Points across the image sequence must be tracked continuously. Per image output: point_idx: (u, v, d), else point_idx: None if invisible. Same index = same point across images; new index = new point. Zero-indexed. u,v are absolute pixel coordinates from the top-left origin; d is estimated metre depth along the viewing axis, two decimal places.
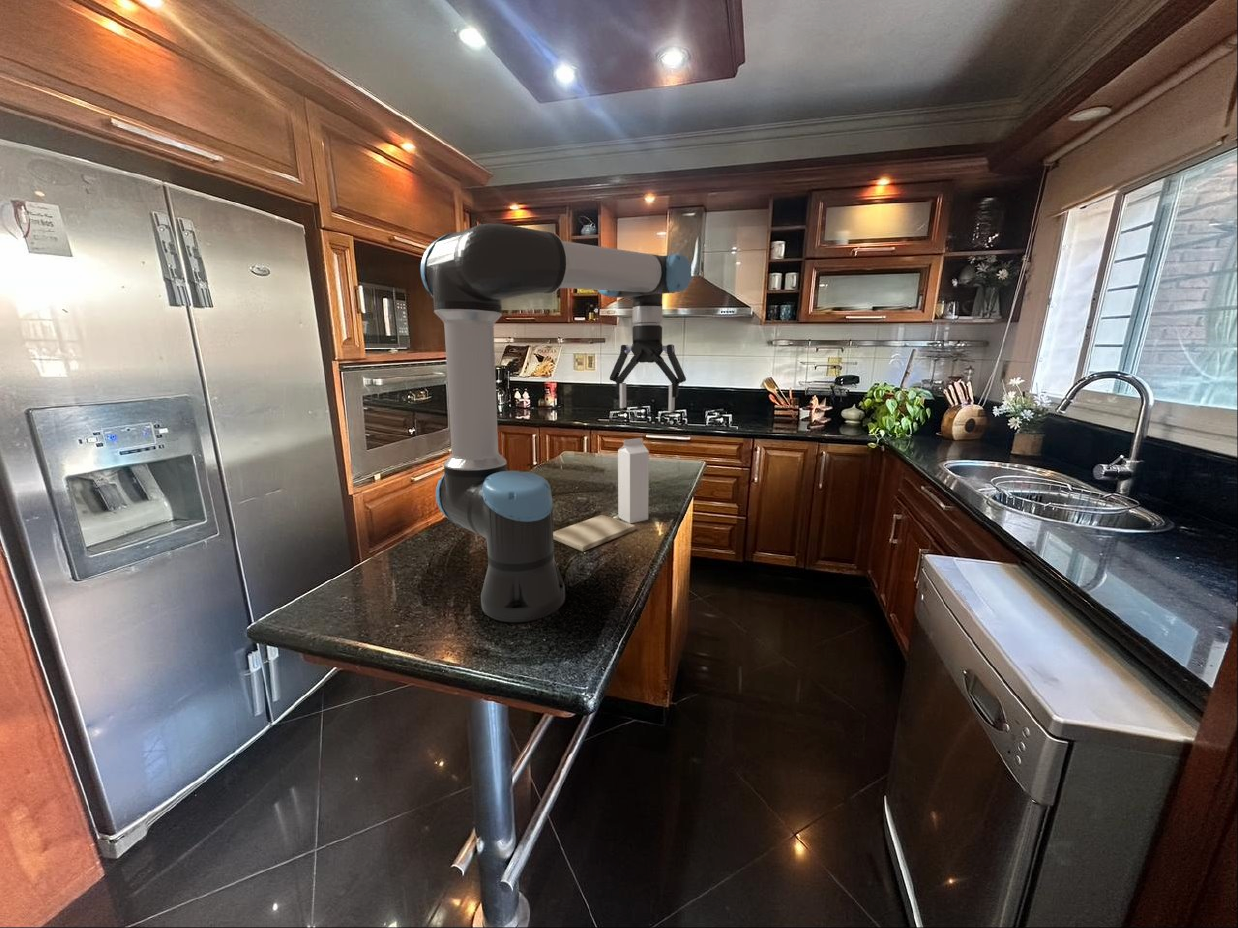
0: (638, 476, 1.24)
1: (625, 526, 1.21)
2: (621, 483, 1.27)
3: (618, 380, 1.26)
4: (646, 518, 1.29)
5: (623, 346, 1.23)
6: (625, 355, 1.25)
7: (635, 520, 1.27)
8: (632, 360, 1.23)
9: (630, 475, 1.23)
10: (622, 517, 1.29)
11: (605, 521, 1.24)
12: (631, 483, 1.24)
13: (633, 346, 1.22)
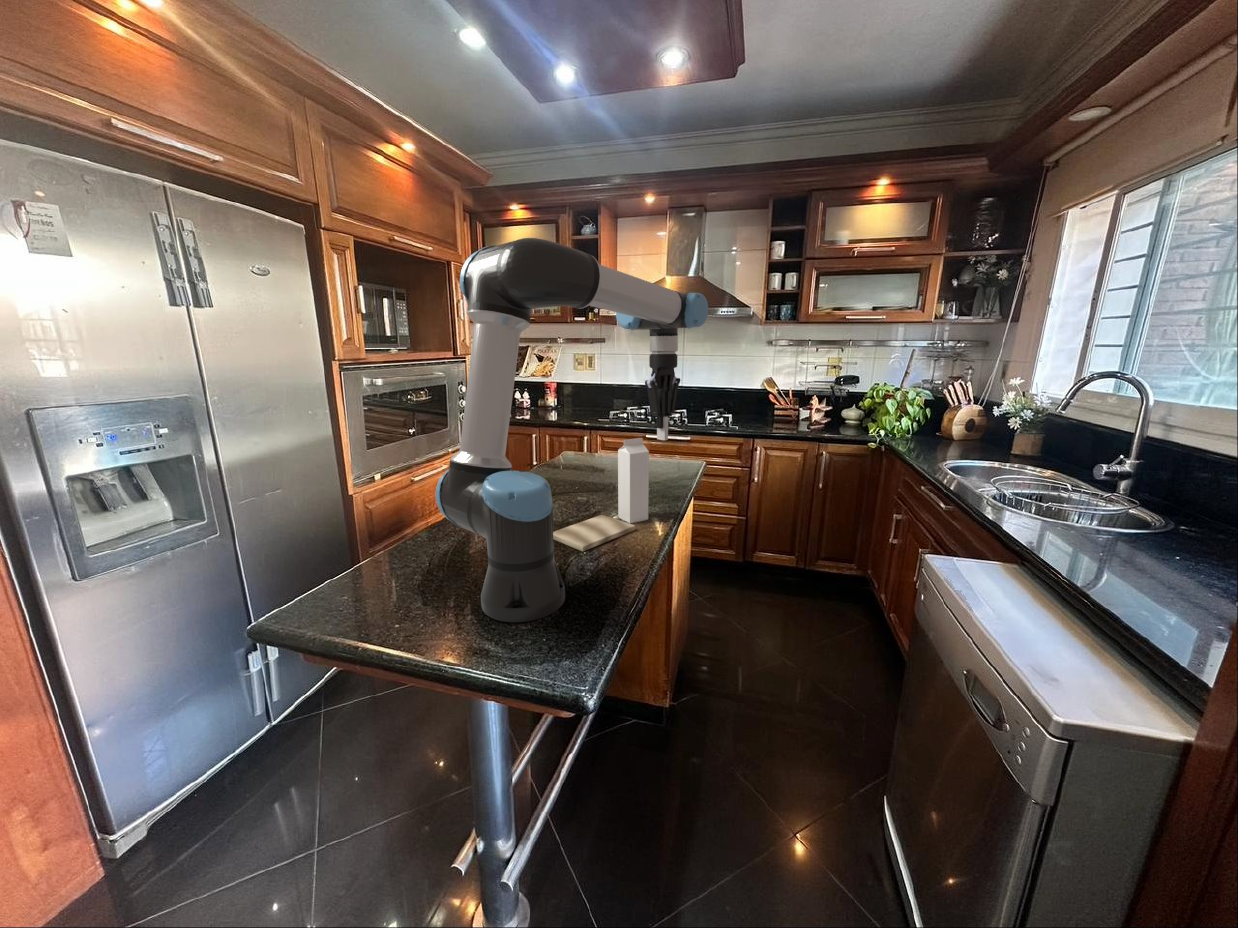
0: (638, 476, 1.24)
1: (625, 526, 1.21)
2: (621, 483, 1.27)
3: (663, 414, 1.30)
4: (646, 518, 1.29)
5: (653, 382, 1.25)
6: None
7: (635, 520, 1.27)
8: (664, 389, 1.28)
9: (630, 475, 1.23)
10: (622, 517, 1.29)
11: (605, 521, 1.24)
12: (631, 483, 1.24)
13: (657, 374, 1.26)
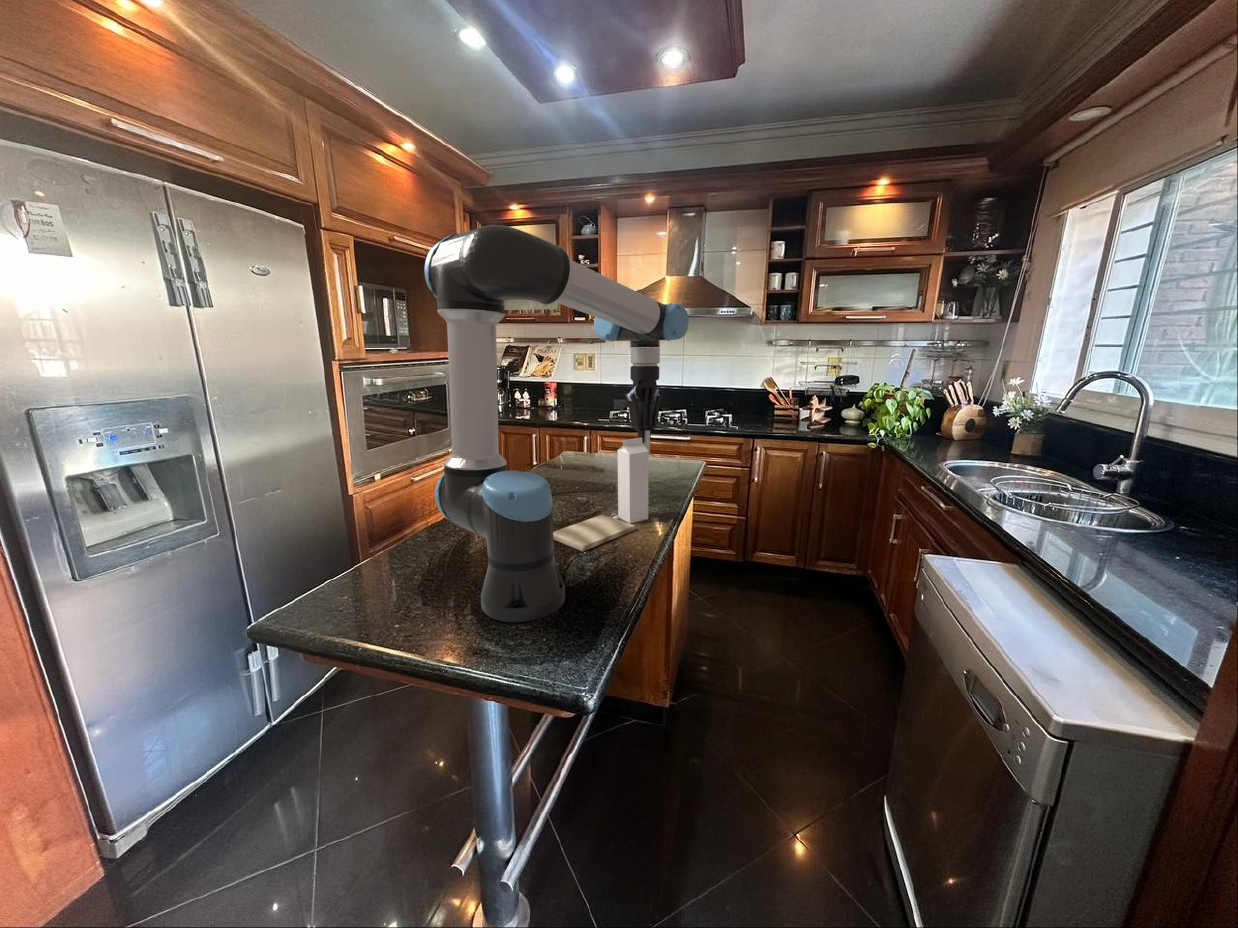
0: (638, 476, 1.24)
1: (625, 526, 1.21)
2: (621, 483, 1.27)
3: (645, 428, 1.26)
4: (646, 518, 1.29)
5: (633, 395, 1.20)
6: None
7: (635, 520, 1.27)
8: (646, 402, 1.24)
9: (630, 475, 1.23)
10: (622, 517, 1.29)
11: (605, 521, 1.24)
12: (630, 483, 1.23)
13: (638, 387, 1.22)
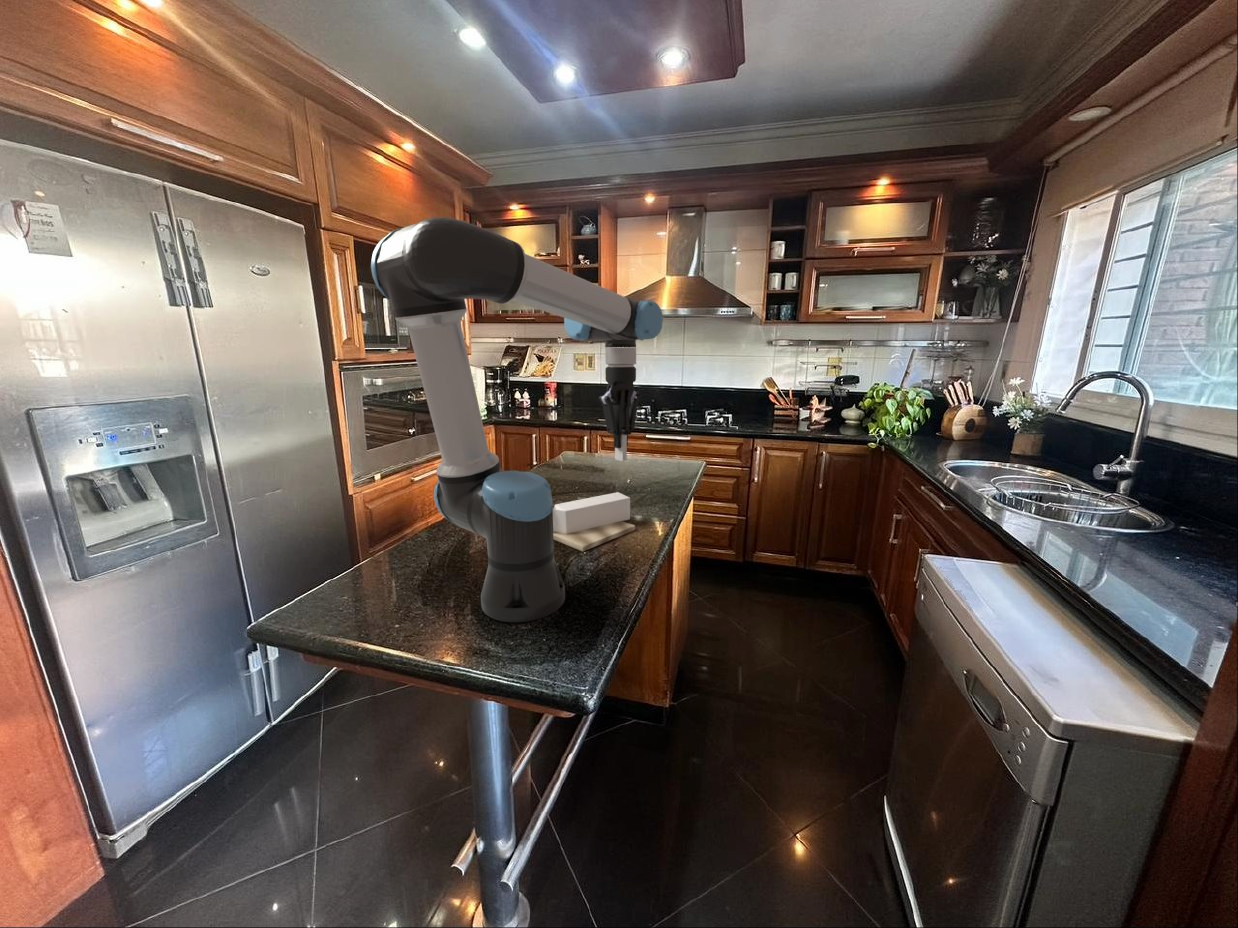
0: (589, 519, 1.19)
1: (625, 526, 1.21)
2: None
3: (621, 432, 1.19)
4: (629, 500, 1.25)
5: (608, 397, 1.14)
6: None
7: (628, 513, 1.25)
8: (621, 405, 1.17)
9: (586, 528, 1.19)
10: None
11: None
12: (594, 526, 1.20)
13: (613, 389, 1.15)
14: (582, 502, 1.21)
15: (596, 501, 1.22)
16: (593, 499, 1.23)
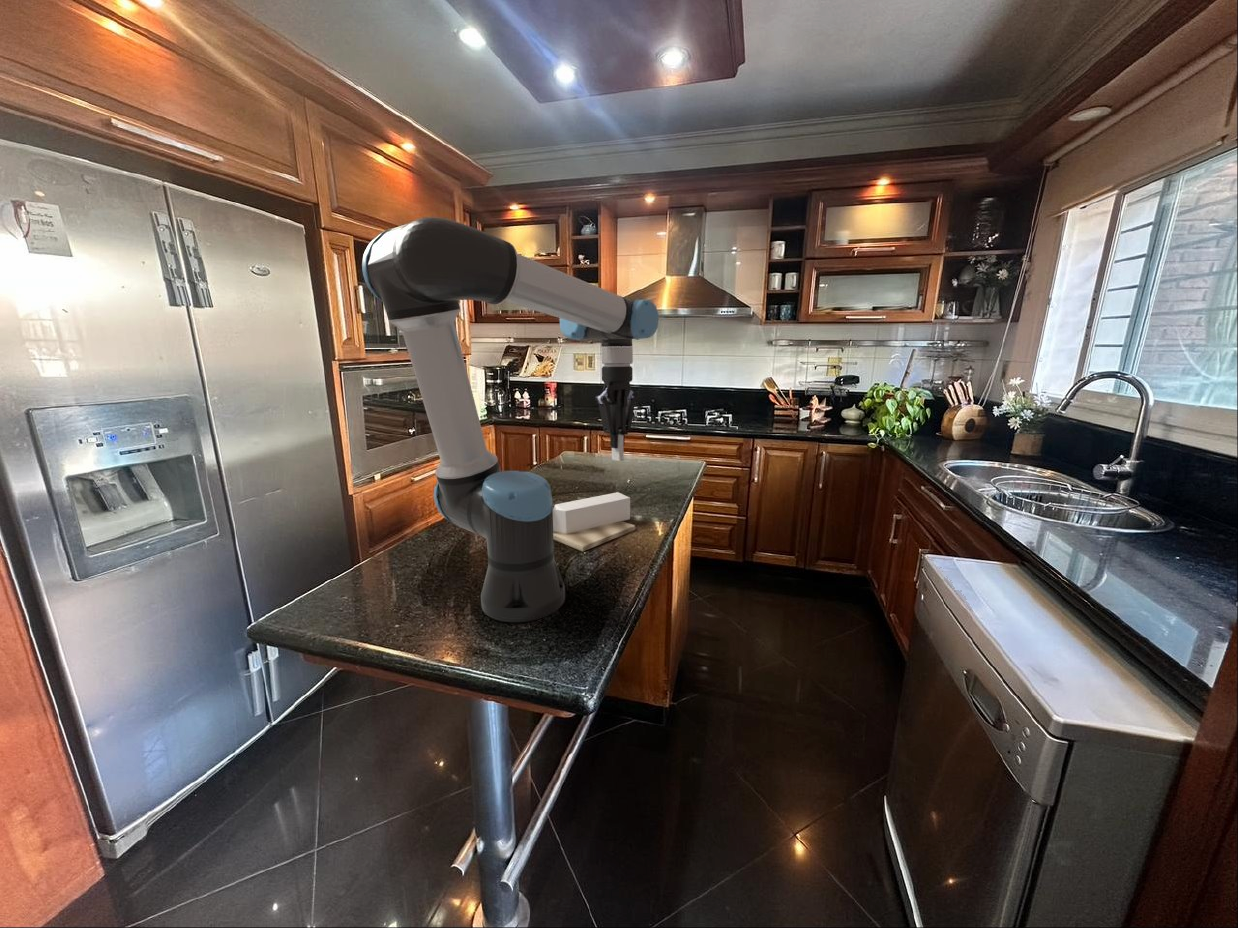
0: (589, 519, 1.19)
1: (625, 526, 1.21)
2: None
3: (617, 432, 1.18)
4: (629, 500, 1.25)
5: (604, 397, 1.13)
6: None
7: (628, 513, 1.25)
8: (618, 405, 1.16)
9: (586, 528, 1.19)
10: None
11: None
12: (594, 526, 1.20)
13: (610, 389, 1.14)
14: (582, 502, 1.21)
15: (596, 501, 1.22)
16: (593, 499, 1.23)
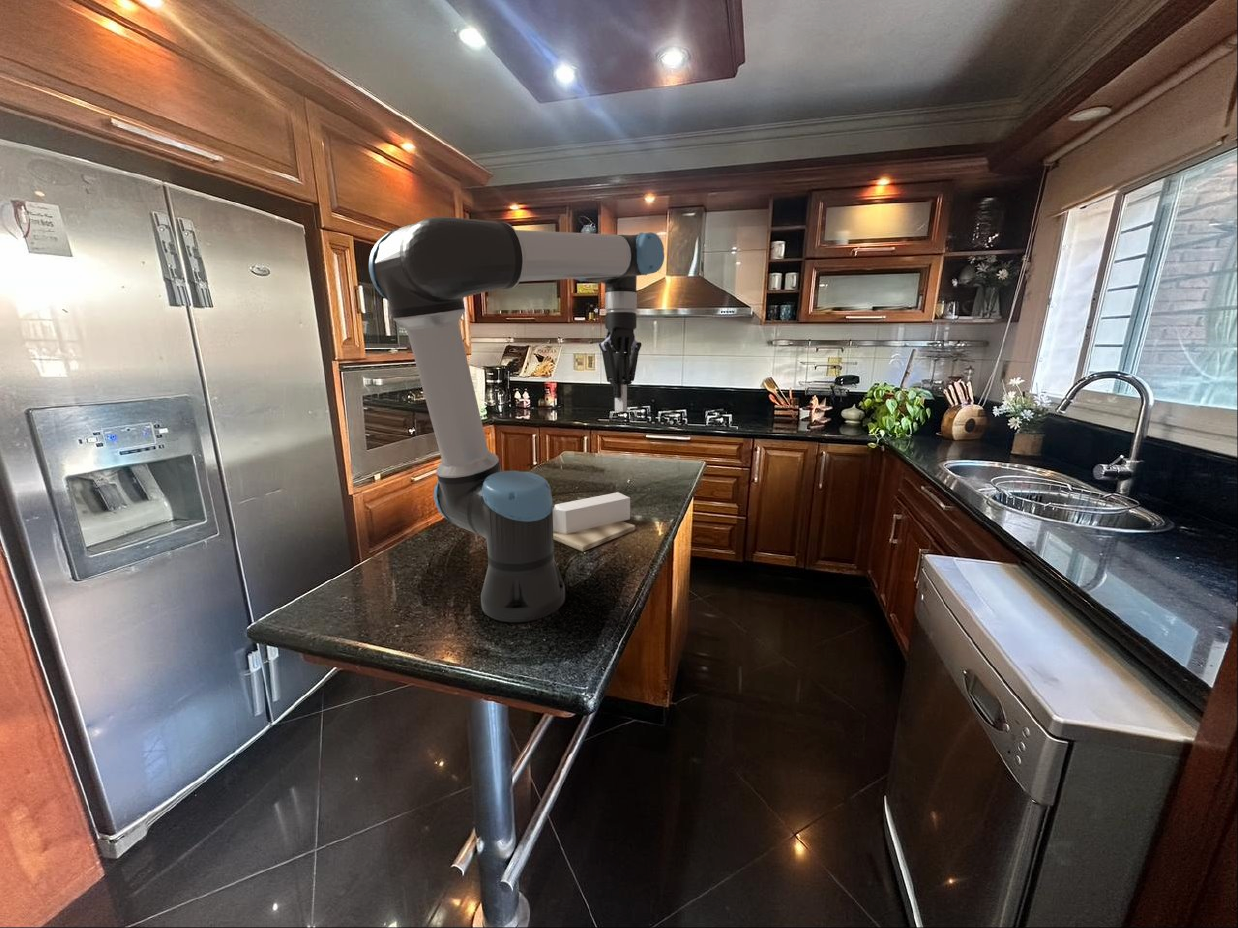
0: (589, 519, 1.19)
1: (625, 526, 1.21)
2: None
3: (621, 381, 1.16)
4: (629, 500, 1.25)
5: (608, 343, 1.11)
6: None
7: (628, 513, 1.25)
8: (622, 353, 1.14)
9: (586, 528, 1.19)
10: None
11: None
12: (594, 526, 1.20)
13: (613, 335, 1.12)
14: (582, 502, 1.21)
15: (596, 501, 1.22)
16: (593, 499, 1.23)
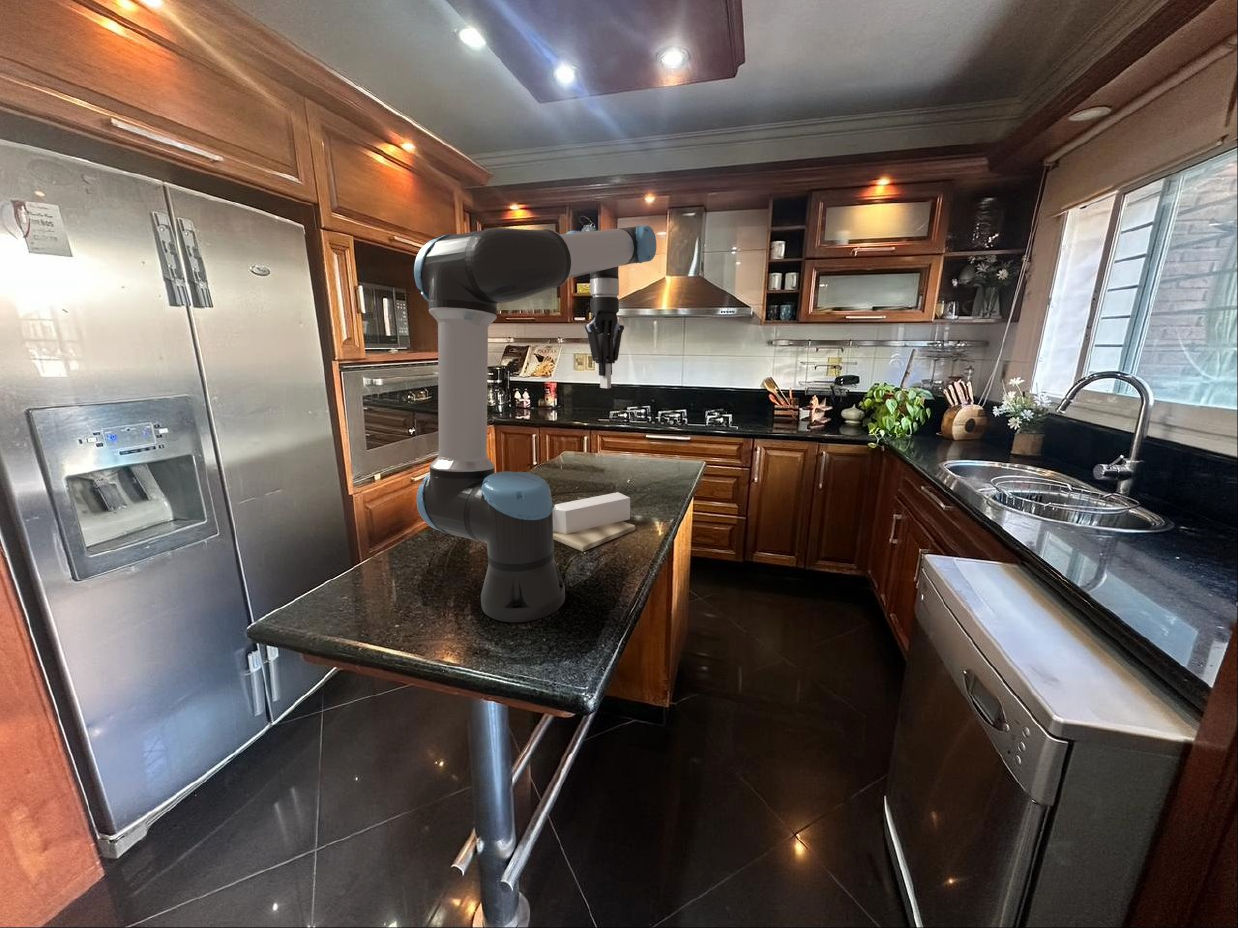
0: (589, 519, 1.19)
1: (625, 526, 1.21)
2: None
3: (605, 360, 1.28)
4: (629, 500, 1.25)
5: (592, 325, 1.22)
6: None
7: (628, 513, 1.25)
8: (605, 334, 1.26)
9: (586, 528, 1.19)
10: None
11: None
12: (594, 526, 1.20)
13: (597, 318, 1.24)
14: (582, 502, 1.21)
15: (596, 501, 1.22)
16: (593, 499, 1.23)
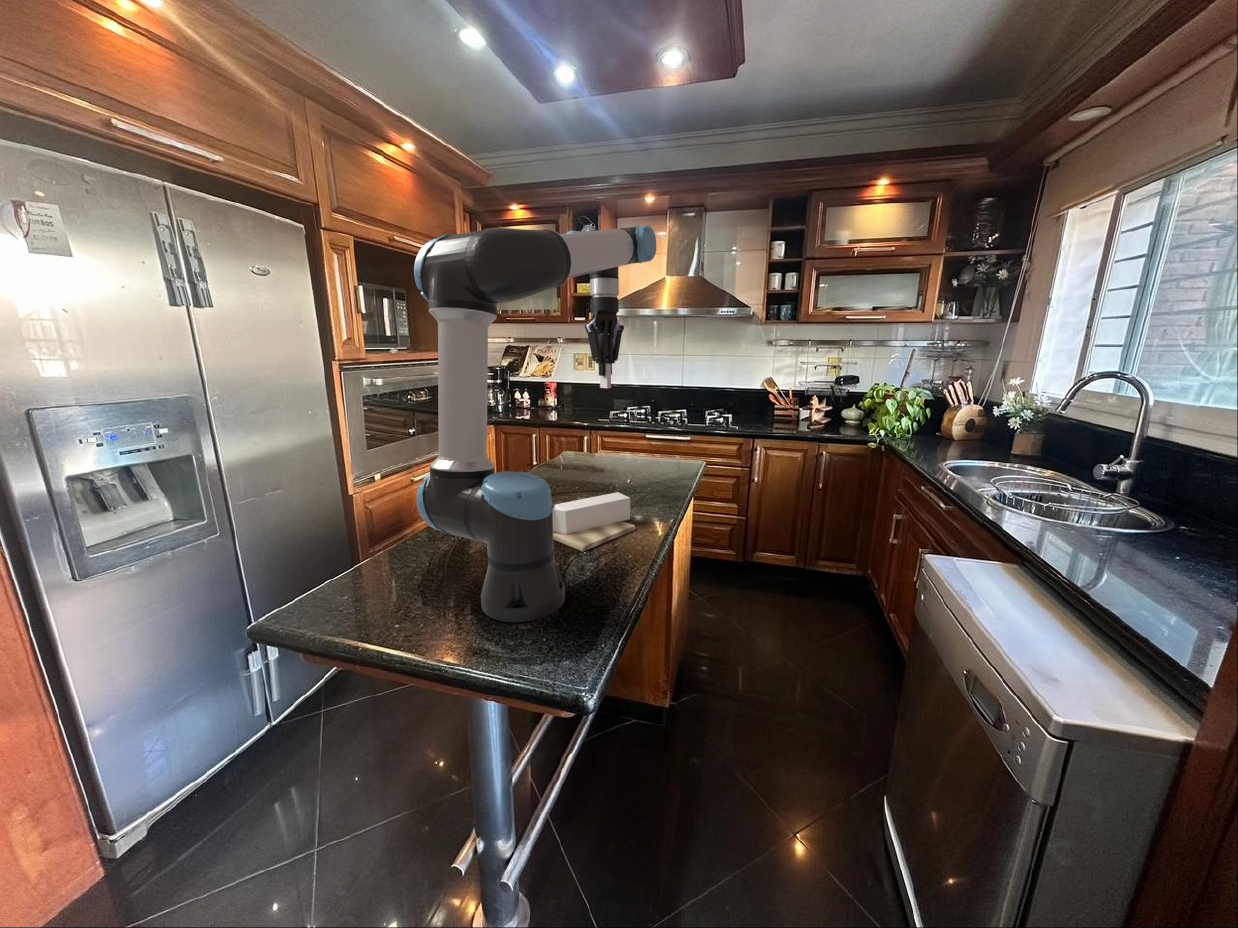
0: (589, 519, 1.19)
1: (625, 526, 1.21)
2: None
3: (605, 360, 1.28)
4: (629, 500, 1.25)
5: (592, 325, 1.22)
6: None
7: (628, 513, 1.25)
8: (605, 334, 1.26)
9: (586, 528, 1.19)
10: None
11: None
12: (594, 526, 1.20)
13: (597, 318, 1.24)
14: (582, 502, 1.21)
15: (596, 501, 1.22)
16: (593, 499, 1.23)
